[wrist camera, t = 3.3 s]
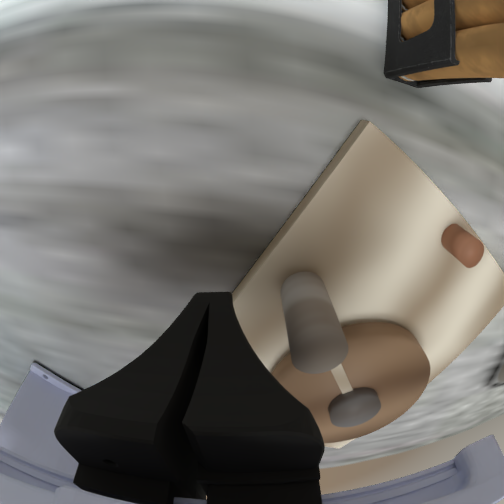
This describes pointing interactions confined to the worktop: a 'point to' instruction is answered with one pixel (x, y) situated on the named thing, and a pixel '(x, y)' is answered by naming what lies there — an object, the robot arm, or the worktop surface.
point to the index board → (376, 257)
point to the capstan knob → (346, 364)
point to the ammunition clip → (444, 41)
